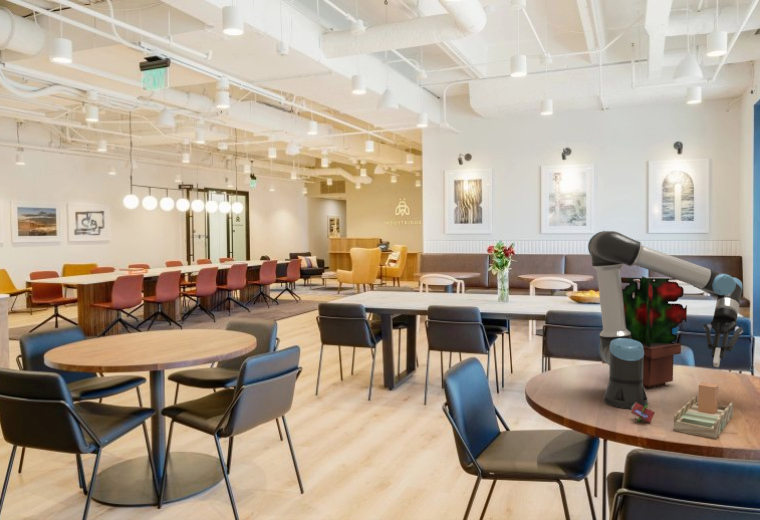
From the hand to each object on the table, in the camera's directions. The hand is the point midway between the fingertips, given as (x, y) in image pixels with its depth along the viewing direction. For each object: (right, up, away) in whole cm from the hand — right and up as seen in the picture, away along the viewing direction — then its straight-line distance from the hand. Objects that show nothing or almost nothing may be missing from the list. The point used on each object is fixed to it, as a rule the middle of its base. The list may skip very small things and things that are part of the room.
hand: (715, 364), depth 206 cm
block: (-7, -14, -7) cm, 18 cm away
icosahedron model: (-30, -18, -10) cm, 37 cm away
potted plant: (-7, -15, +40) cm, 43 cm away
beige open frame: (-10, -18, -11) cm, 23 cm away
